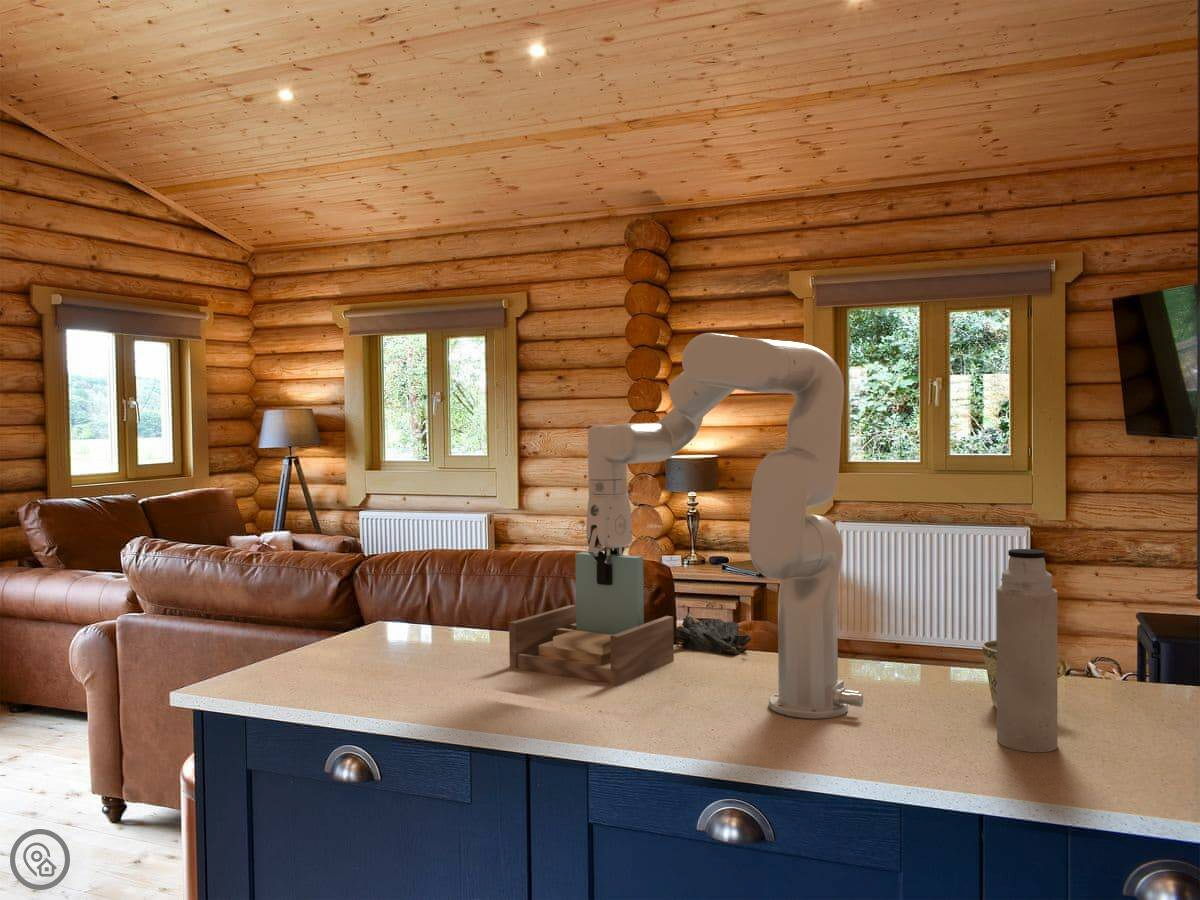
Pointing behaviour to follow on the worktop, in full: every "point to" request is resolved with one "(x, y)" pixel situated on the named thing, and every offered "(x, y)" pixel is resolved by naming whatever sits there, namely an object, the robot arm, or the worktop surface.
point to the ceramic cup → (991, 667)
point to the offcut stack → (579, 648)
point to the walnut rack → (628, 648)
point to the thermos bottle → (1027, 654)
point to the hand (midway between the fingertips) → (609, 582)
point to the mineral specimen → (711, 636)
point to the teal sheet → (609, 595)
